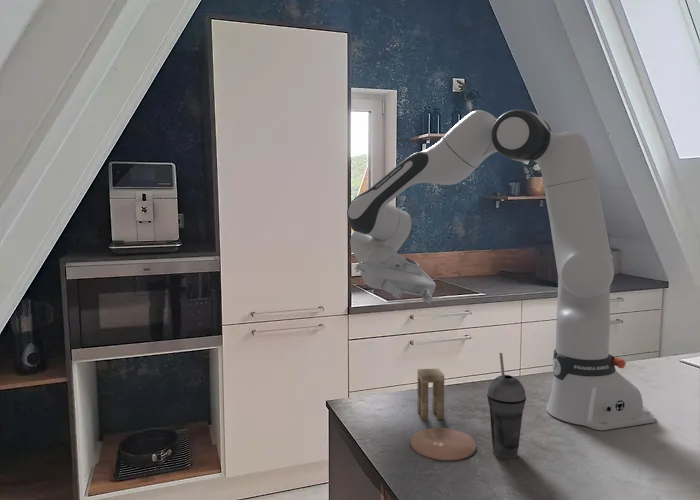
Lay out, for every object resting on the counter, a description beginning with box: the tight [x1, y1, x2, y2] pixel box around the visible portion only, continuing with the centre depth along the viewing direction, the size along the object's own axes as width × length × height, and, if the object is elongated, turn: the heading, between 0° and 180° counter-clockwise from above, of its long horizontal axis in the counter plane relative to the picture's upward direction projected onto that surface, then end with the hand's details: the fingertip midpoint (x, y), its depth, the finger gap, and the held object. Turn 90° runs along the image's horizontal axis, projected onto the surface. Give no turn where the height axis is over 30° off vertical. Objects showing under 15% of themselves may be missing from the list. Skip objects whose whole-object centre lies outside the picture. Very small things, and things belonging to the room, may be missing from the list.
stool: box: [416, 367, 445, 421], centre depth 124 cm, size 5×5×10 cm
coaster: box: [410, 427, 477, 462], centre depth 110 cm, size 13×13×1 cm
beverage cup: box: [486, 352, 527, 460], centre depth 105 cm, size 7×7×20 cm
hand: (414, 297), depth 128 cm, fingers open, 8 cm apart
